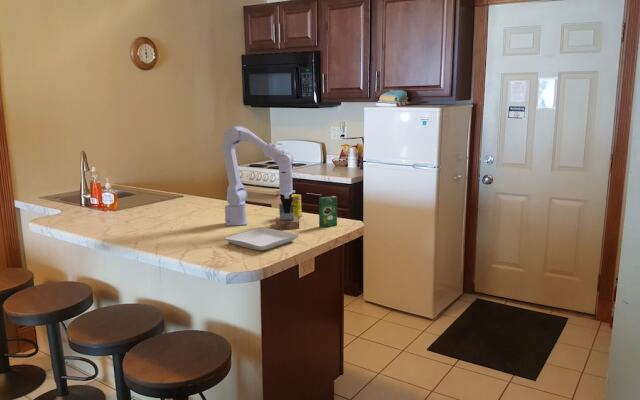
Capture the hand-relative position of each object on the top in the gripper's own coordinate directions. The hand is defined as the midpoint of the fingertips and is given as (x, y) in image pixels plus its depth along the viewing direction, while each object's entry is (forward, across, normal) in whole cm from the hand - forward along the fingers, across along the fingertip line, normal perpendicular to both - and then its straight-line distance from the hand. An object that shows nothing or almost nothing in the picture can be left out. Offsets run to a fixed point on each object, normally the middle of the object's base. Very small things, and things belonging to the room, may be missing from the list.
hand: (286, 211), depth 226 cm
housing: (+4, 0, 0) cm, 4 cm away
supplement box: (+7, +15, -4) cm, 17 cm away
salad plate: (+7, -25, +11) cm, 28 cm away
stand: (+7, 0, 0) cm, 7 cm away
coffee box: (+7, -3, -18) cm, 20 cm away
